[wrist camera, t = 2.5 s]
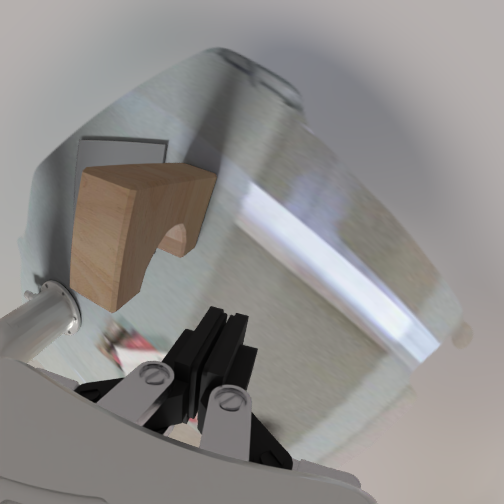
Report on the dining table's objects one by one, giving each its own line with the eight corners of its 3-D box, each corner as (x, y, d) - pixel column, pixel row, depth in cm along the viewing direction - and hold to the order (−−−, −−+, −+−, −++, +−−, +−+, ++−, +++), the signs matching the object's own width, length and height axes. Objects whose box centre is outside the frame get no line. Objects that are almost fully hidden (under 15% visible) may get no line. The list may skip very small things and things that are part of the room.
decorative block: (194, 249, 40) (113, 317, 21) (160, 234, 40) (65, 287, 21) (220, 175, 36) (137, 187, 17) (182, 161, 36) (80, 164, 18)
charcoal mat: (75, 231, 43) (73, 232, 42) (81, 139, 38) (79, 139, 37) (155, 253, 41) (153, 254, 41) (167, 145, 36) (165, 144, 36)
